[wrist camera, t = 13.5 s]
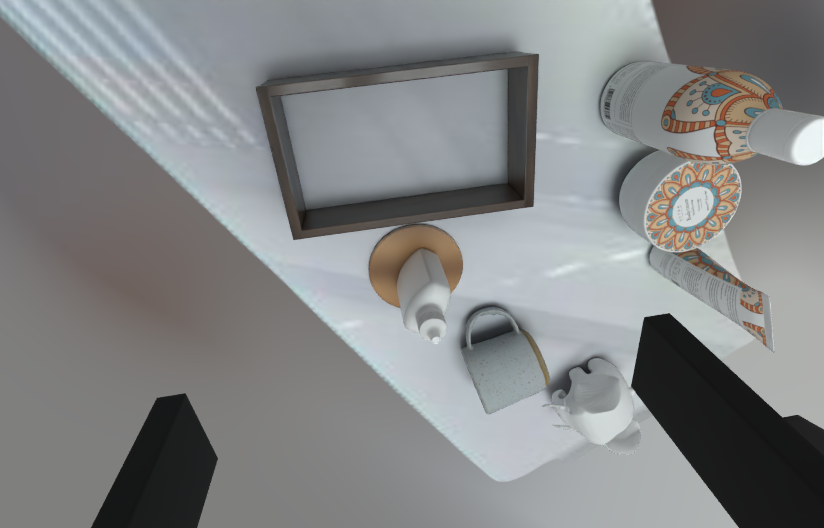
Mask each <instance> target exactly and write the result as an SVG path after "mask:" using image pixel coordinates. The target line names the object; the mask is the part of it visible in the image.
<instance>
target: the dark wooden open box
mask: <svg viewBox="0 0 824 528" xmlns="http://www.w3.org/2000/svg"><path fill="white" fill-rule="evenodd" d="M538 63H539V54H531V53H523V52H510V53H501V54H492V55H484V56H475V57H466V58H458V59H449V60H441V61H432V62H423V63H415V64H406V65H398V66H389V67H380V68H372V69H363V70H354V71H346V72H337V73H329V74H320V75H311V76H303V77H294V78H286V79H277V80H269V81H266V82H265V83H263V84H261V85H260V86H257V87H256V91H257V95H258V99H259V103H260V107H261V111H262V115H263V119H264V123H265V127H266V131H267V135H268V139H269V143H270V147H271V151H272V155H273V159H274V163H275V167H276V172H277V176H278V180H279V184H280V188H281V192H282V196H283V200H284V204H285V208H286V212H287V216H288V220H289V224H290V228H291V232H292V236H293V240H297V239H303V238H311V237H318V236H325V235H332V234H340V233H347V232H354V231H361V230H368V229H376V228H383V227H390V226H397V225H404V224H411V223H419V222H426V221H433V220H440V219H447V218H455V217H462V216H469V215H476V214H483V213H490V212H498V211H505V210H512V209H519V208H527V207H533V205H534V177H535V148H536V120H537V91H538ZM502 69H508V184H507V183H506V184H498V185H491V186H484V187H476V188H469V189H461V190H454V191H447V192H439V193H432V194H424V195H417V196H410V197H402V198H395V199H387V200H380V201H373V202H365V203H358V204H351V205H343V206H336V207H328V208H321V209H314V210H307V211H306V208H305V203H304V199H303V194H302V190H301V185H300V181H299V176H298V172H297V168H296V163H295V159H294V154H293V150H292V145H291V141H290V137H289V132H288V128H287V123H286V119H285V114H284V110H283V105H282V101H281V97H280V96H283V95H292V94H300V93H308V92H317V91H325V90H334V89H342V88H351V87H359V86H367V85H376V84H384V83H393V82H401V81H410V80H418V79H426V78H435V77H443V76H452V75H460V74H469V73H477V72H485V71H494V70H502Z"/></svg>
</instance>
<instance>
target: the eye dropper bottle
mask: <svg viewBox="0 0 824 528" xmlns="http://www.w3.org/2000/svg"><path fill="white" fill-rule="evenodd" d="M397 292H398V297H399V303H400V308H401V313H402V318H403V323H404V325H405V327H406V328H407V329H408V330H410V331H412V332H415V333H418V334H420V336H421V337H422V338H423V339H425V340H427V341H432V342H433V343H434V344H437V343H439V342H440V339H441V338H442V337H443V336H444V335H445V334H446V331H447V325H446V322H445V319H444V315H445V313H446V311H447V308H448V306H449V302H450V295H451V291H450V287H449V284H448V281H447V278H446V275H445V273H444V270H443V268H442V265H441V262H440V260H439V257H438V255H437V254H435V253H433V252H431V251H429V250H427V249H423V248H421V249H418V250H417V251H416V252H414V253H413V254H412V255H411V256H410V257H409V258H408V259H407V260H406V262H405V263H404V265H403V266H402V268H401V270H400V273H399V276H398V280H397Z"/></svg>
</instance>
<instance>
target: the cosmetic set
mask: <svg viewBox="0 0 824 528" xmlns="http://www.w3.org/2000/svg"><path fill="white" fill-rule="evenodd" d="M600 109H601V116H602V119H603V121H604V123H605V125H606V126H607V127H608V128H609V129H610V130H611V131H613V132H615V133H617V134H619V135H622V136H624V137H627V138H630V139H632V140H635V141H637V142H640V143H643V144H645V145H648V146H651V147H653V148H656V149H658V150H659V151H656V152H654V153H651V154H650V155H648V156H646V157H645V158H643V159H642V160H641V161H639V162H638V163H637V164H636V165H635V166H634V167H633V168H632V169H631V170H630V172H629V173H628V175H627V176H626V178H625V180H624V182H623V184H622V187H621V191H620V196H619V205H620V211H621V214H622V216H623V218H624V220H625V222H626V223H627V224H628V226H629V227H630V228H631V229H632V230H633V231H635V232H636V233H637V234H639V235H640V236H641V237H643V238H644V239H646V240H647V241H648V242H650V243H651V244H653V245H654V247H653V249H652V251H651V253H650V264H651V266H652V267H653V268H654V269H655V270H656V271H657V272H658V273H660V274H661V275H662V276H664V277H665V278H667V279H668V280H670V281H671V282H673V283H675V284H676V285H678V286H679V287H681V288H682V289H684V290H685V291H687V292H688V293H690V294H691V295H693V296H695V297H696V298H698V299H699V300H701V301H702V302H704V303H706V304H707V305H709V306H710V307H712V308H714V309H715V310H717V311H718V312H720V313H721V314H723V315H725V316H726V317H728V318H729V319H731V320H732V321H734V322H735V323H737V324H738V325H739V326H741V327H742V328H744V329H745V330H746V331H748V332H749V333H750V334H752V335H753V336H754V337H756V338H757V339H758V340H760V341H761V342H762V343H763V344H764V345H765V346H766V347H767V348H768V349H769V350H771V351H772V352H773V353H774V341H773V329H772V319H771V318H772V317H771V305H770V297H769V296H768V295H766V294H764V293H763V292H760V291H757V290H755V289H753V288H751V287H749V286H748V285H746V284H744V283H743V282H742V281H740V280H739V279H737V278H736V277H735V276H733V275H732V274H731V273H729V272H728V271H727V270H726V269H724V268H723V267H722V266H721V265H719V264H718V263H717V262H716V261H714V260H713V259H712V258H710V257H709V256H708V255H706V254H705V253H704V252H702V251H701V250H700V249H698V247H700V246H702V245H704V244H705V243H707V242H709V241H710V240H712V239H713V238H714V237H715V236H717V235H718V234H719V233H720V232H721V231H722V230H723V229H724V228H725V227H726V225H727V224H728V223H729V222H730V220H731V219H732V217H733V215H734V213H735V211H736V209H737V207H738V204H739V201H740V197H741V180H740V176H739V174H738V172H737V170H736V169H735V167H734V166H733V165H732V164H731V163H735V162H738V161H742V160H744V159H747V158H750V157H752V156H755V155H757V154H759V153H760V154H763V155H767V156H770V157H773V158H777V159H780V160H783V161H787V162H790V163H794V164H797V165H810V164H813V163H815V162H817V161H819V160H820V159H822V158H823V157H824V117H823V116H818V115H812V114H806V113H800V112H794V111H789V110H784V109H783V107H782V104H781V102H780V100H779V98H778V96H777V95H776V93H775V92H774V90H773V89H772V88H771V87H770V86H769V85H768V84H767V83H765V82H764V81H763V80H761V79H759V78H758V77H756V76H754V75H751V74H748V73H746V72H742V71H737V70H729V69H719V68H708V67H699V66H689V65H679V64H669V63H659V62H648V61H640V62H635V63H632V64H630V65H627V66H626V67H624V68H622V69H621V70H619V71H618V72H617V73H616V74H615V75H614V76H613V77H612V78H611V79H610V81H609V82H608V84H607V85H606V87H605V89H604V92H603V95H602V98H601V106H600Z"/></svg>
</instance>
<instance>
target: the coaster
mask: <svg viewBox="0 0 824 528" xmlns="http://www.w3.org/2000/svg"><path fill="white" fill-rule="evenodd" d="M421 248H423V249H427V250H429V251H431V252H433V253H435V254H437V255H438V257H439V260H440V262H441V265H442V268H443V270H444V273H445V275H446V278H447V281H448V284H449V287H450V291H451V293H452V292H453V290H454V289H455V288H456V286H457V284H458V282H459V280H460V278H461V275H462V270H463V260H462V255H461V252H460V250H459V247H458V246H457V244H456V242H455V241H454V240H453V239H452V237H451V236H449V235H448V234H447V233H446V232H444V231H443V230H441V229H439V228H436V227H433V226H430V225H424V224H414V225H408V226H404V227H400V228H398V229H396V230H394V231H392V232H390V233H389V234H387V235H386V236H385V237H384V238H383V239H382V240H381V241H380V242H379V243H378V244H377V246H376V247H375V249H374V250H373V252H372V255H371V258H370V262H369V277H370V281H371V284H372V286H373V288H374V290H375V291H376V293H377V294H378V295H379V296H380V297H381V298H382V299H383V300H384V301H386V302H387V303H389V304H391V305H393V306H396V307H398V308H400V303H399V297H398V292H397V280H398V276H399V273H400V270H401V268H402V266H403V265H404V263H405V262H406V260H407V259H408V258H409V257H410V256H411V255H412V254H413V253H414V252H416V251H417V250H418V249H421Z"/></svg>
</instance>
